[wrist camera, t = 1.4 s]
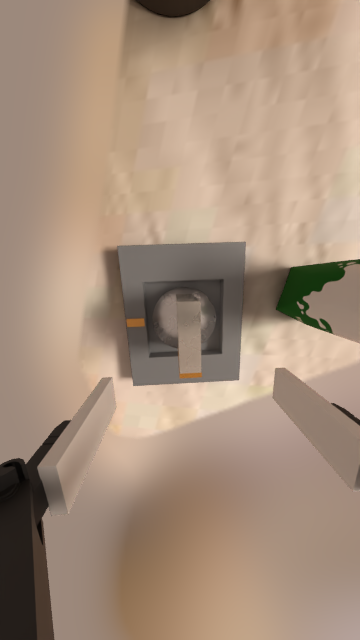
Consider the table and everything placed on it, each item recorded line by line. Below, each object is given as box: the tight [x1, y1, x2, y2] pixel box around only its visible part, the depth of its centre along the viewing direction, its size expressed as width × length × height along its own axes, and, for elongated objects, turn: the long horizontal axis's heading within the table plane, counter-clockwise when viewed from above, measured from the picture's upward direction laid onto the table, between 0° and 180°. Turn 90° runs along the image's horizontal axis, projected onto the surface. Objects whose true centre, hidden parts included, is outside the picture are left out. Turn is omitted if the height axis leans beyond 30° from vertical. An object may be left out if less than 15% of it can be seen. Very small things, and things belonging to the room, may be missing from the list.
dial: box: [153, 287, 216, 378], centre depth 23 cm, size 10×10×10 cm
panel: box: [117, 242, 246, 386], centre depth 28 cm, size 22×18×3 cm
